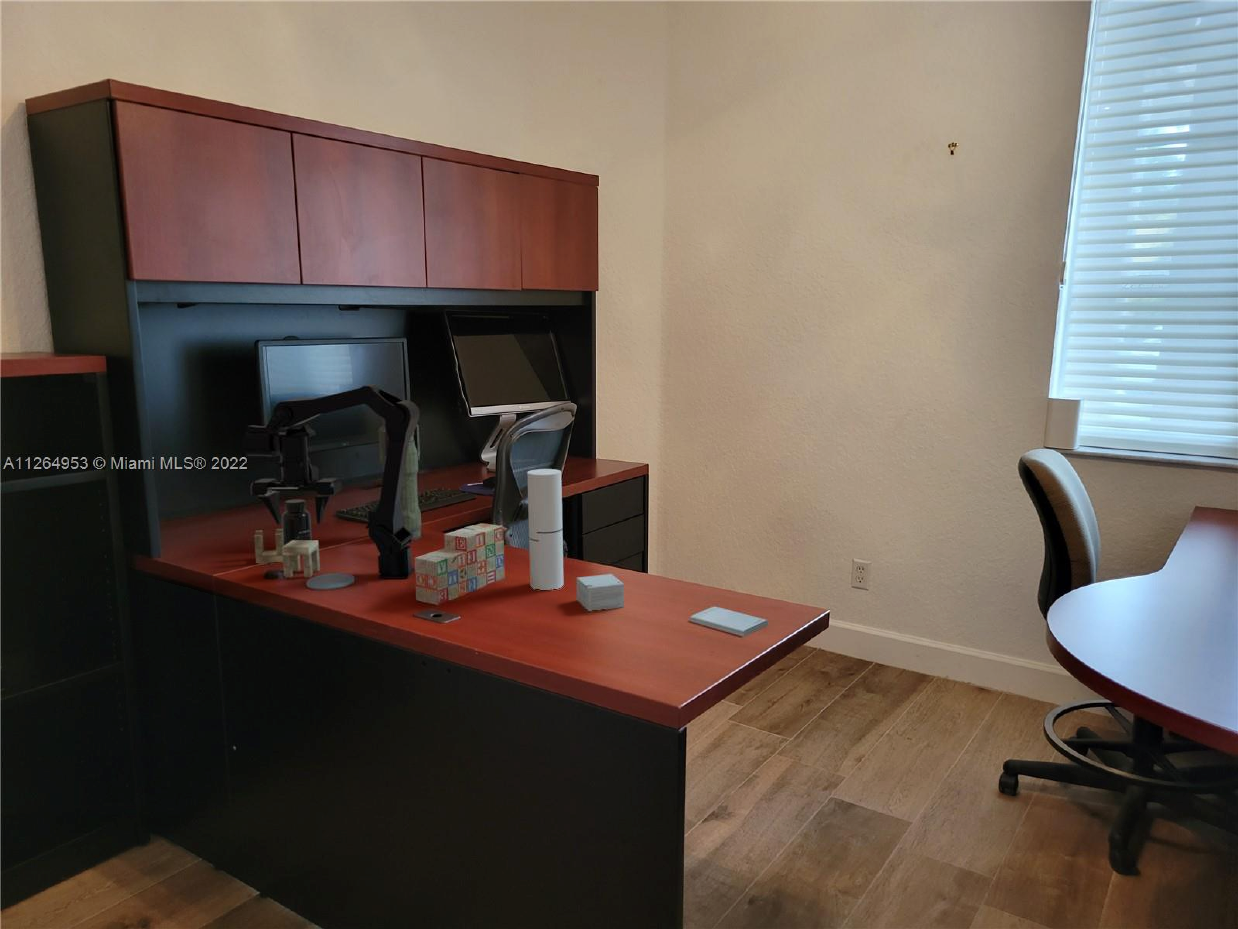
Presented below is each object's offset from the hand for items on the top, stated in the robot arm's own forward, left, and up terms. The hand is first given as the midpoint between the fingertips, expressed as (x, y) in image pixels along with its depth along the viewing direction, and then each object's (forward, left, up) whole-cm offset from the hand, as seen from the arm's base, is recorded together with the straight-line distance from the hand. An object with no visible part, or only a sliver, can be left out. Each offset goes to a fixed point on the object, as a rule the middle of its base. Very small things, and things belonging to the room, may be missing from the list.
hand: (299, 524), depth 200 cm
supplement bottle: (+10, -23, -12) cm, 28 cm away
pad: (-9, +7, -12) cm, 16 cm away
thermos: (-14, -33, -12) cm, 38 cm away
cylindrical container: (-57, +9, -12) cm, 59 cm away
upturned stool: (+12, -11, -12) cm, 20 cm away
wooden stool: (0, 0, -12) cm, 12 cm away
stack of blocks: (-39, +11, -12) cm, 42 cm away
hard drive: (-94, +32, -12) cm, 100 cm away
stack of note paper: (-69, +21, -12) cm, 73 cm away
